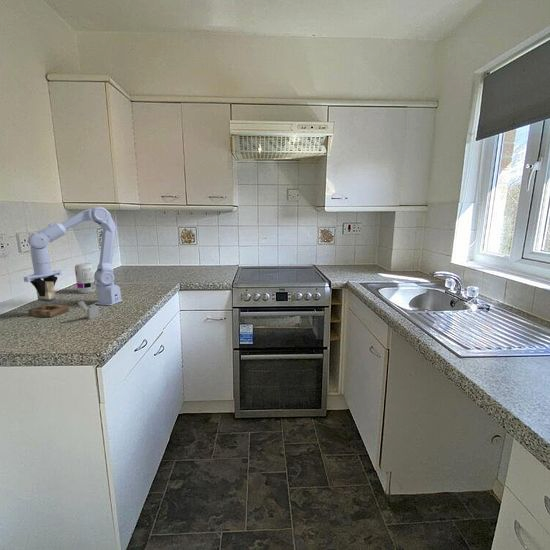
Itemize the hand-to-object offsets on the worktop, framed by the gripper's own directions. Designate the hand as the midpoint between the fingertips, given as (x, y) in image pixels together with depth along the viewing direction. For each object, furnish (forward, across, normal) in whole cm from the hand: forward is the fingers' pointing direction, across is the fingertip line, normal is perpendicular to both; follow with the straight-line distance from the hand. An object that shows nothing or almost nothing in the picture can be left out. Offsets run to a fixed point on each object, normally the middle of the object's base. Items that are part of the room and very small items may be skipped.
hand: (46, 295), depth 129 cm
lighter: (+8, +1, +22) cm, 24 cm away
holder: (+8, 0, 0) cm, 8 cm away
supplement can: (+8, -33, -14) cm, 37 cm away
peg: (+2, 0, 0) cm, 2 cm away
